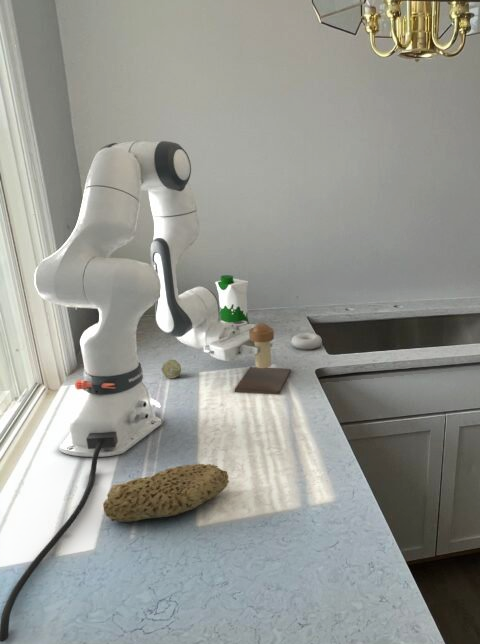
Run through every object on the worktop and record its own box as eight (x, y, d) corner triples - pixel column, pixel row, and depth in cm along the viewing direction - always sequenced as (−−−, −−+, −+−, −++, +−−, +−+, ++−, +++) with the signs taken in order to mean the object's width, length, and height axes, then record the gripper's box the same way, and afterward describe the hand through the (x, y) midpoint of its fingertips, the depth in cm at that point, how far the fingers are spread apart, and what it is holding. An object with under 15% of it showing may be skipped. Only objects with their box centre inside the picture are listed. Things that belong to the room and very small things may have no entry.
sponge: (108, 540, 95) (224, 512, 96) (94, 499, 93) (212, 470, 95) (132, 506, 108) (234, 481, 109) (120, 469, 106) (224, 444, 107)
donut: (287, 349, 180) (316, 352, 178) (286, 339, 179) (316, 342, 177) (297, 340, 189) (326, 342, 187) (297, 330, 188) (325, 332, 186)
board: (279, 394, 148) (279, 391, 148) (234, 391, 149) (234, 389, 148) (290, 371, 163) (290, 368, 163) (250, 369, 164) (250, 366, 163)
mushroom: (272, 370, 151) (270, 327, 147) (248, 369, 152) (246, 326, 147) (277, 361, 157) (275, 320, 153) (254, 360, 157) (252, 319, 153)
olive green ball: (183, 377, 157) (182, 360, 155) (166, 381, 154) (164, 364, 152) (178, 372, 160) (176, 356, 158) (161, 376, 157) (159, 359, 155)
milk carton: (216, 332, 193) (212, 275, 185) (236, 326, 200) (232, 271, 193) (235, 337, 189) (230, 279, 181) (254, 331, 196) (250, 275, 188)
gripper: (197, 338, 147) (239, 348, 142) (246, 318, 165) (285, 326, 159) (200, 361, 150) (241, 370, 144) (248, 339, 167) (286, 347, 162)
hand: (265, 347), depth 152 cm, fingers closed on mushroom, 4 cm apart
